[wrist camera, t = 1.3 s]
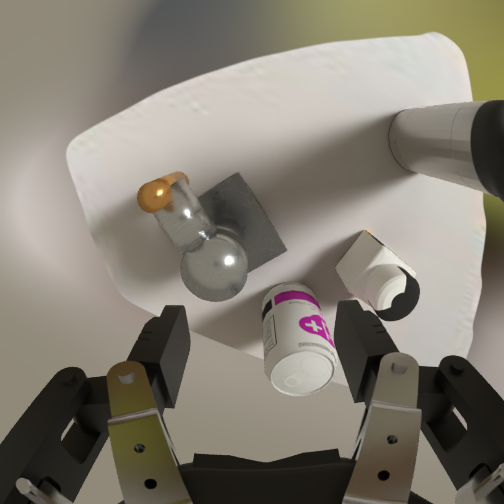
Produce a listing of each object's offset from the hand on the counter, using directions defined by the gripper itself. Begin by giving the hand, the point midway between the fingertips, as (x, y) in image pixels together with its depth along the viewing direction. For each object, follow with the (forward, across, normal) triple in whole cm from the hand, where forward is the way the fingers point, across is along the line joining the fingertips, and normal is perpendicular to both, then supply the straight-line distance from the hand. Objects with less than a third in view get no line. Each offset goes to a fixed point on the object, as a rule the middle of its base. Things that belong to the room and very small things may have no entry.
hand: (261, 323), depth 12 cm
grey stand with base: (+28, +4, +5) cm, 28 cm away
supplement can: (+28, -4, +16) cm, 32 cm away
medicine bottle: (+28, -16, +9) cm, 33 cm away
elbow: (+23, +6, +2) cm, 24 cm away
